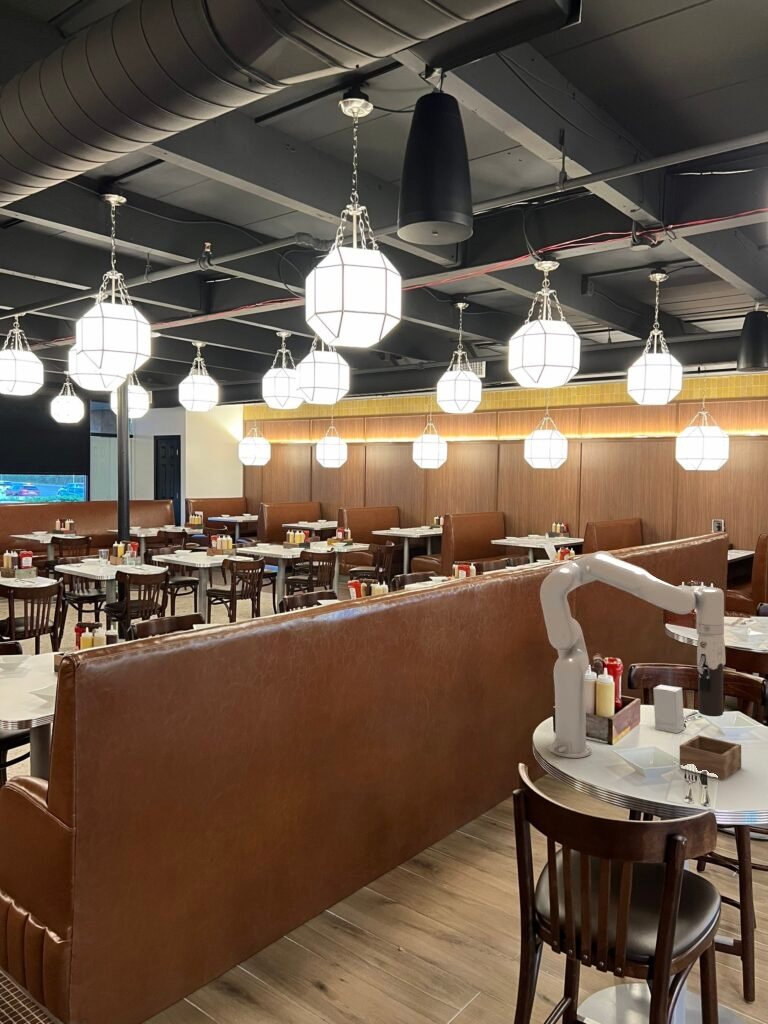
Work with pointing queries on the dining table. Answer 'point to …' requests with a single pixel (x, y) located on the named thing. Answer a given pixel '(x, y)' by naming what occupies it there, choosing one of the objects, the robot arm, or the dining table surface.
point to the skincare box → (668, 708)
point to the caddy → (711, 756)
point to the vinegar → (712, 694)
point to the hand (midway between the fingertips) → (710, 688)
